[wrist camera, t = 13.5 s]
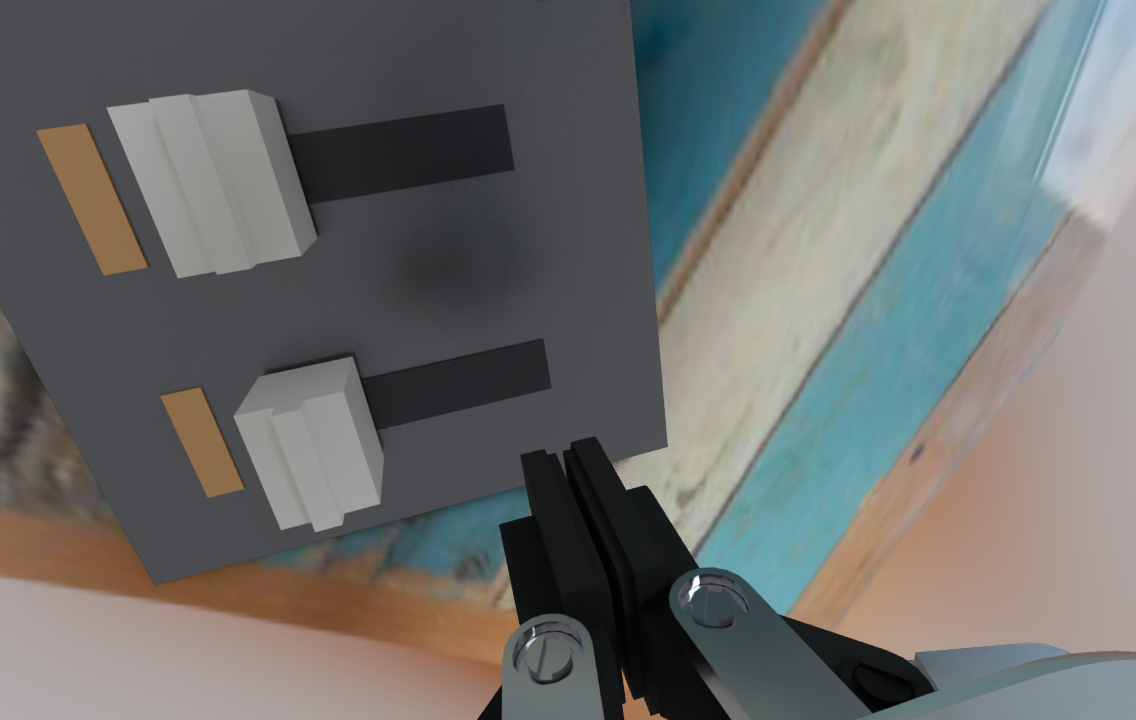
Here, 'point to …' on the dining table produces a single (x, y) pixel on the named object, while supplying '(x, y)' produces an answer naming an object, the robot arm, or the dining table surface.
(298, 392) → the block
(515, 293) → the breaker panel
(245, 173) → the breaker
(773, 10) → the dining table surface
